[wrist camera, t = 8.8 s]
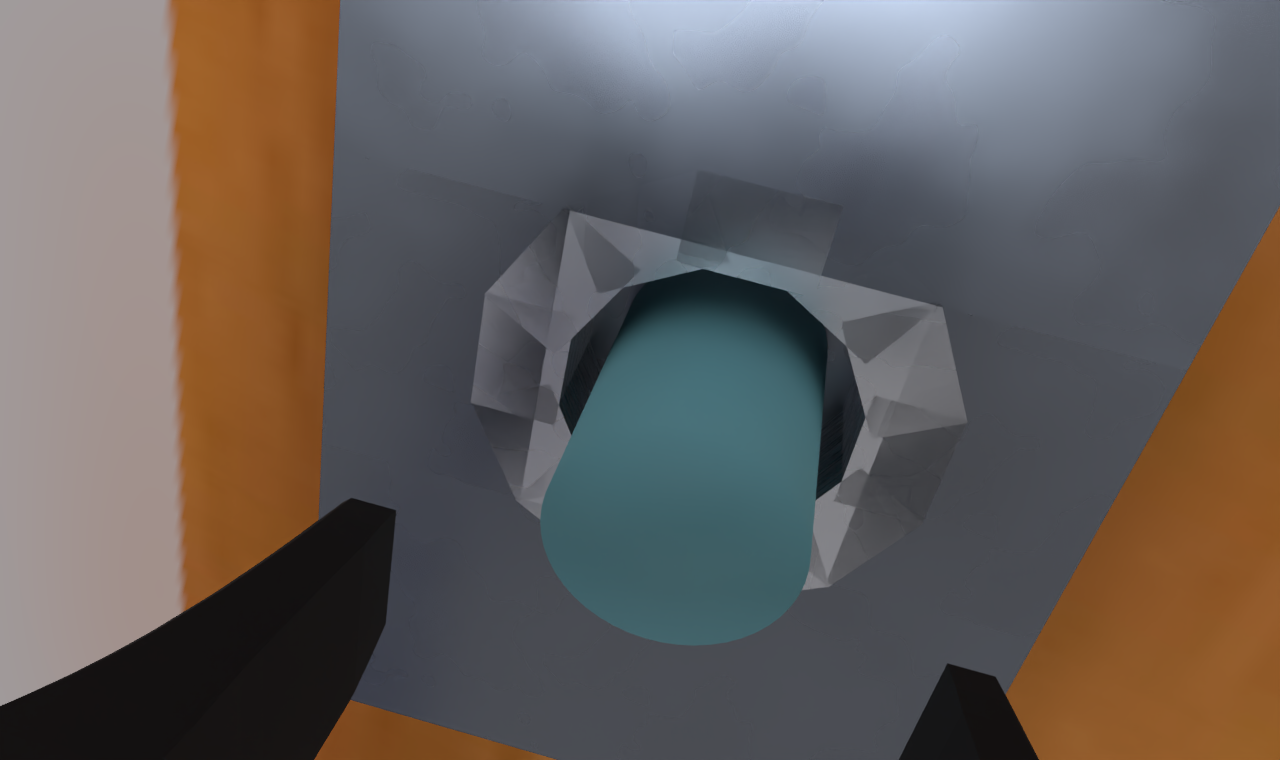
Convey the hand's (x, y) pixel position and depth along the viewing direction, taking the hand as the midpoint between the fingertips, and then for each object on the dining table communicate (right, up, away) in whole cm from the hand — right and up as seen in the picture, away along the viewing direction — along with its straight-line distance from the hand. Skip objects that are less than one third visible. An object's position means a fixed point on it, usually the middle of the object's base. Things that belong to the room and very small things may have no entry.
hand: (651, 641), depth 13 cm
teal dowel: (+2, +4, +7) cm, 8 cm away
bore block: (+2, +4, +7) cm, 9 cm away
